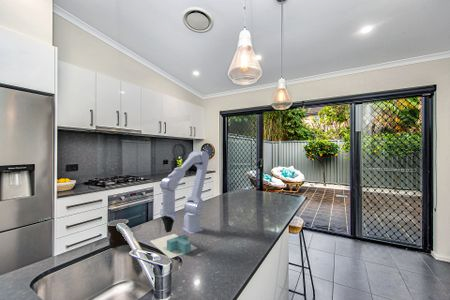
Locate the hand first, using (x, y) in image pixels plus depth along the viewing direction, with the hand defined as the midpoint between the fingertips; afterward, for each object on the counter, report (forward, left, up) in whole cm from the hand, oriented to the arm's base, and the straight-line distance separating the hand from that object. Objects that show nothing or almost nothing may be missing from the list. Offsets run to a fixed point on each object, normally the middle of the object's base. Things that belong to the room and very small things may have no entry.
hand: (168, 231), depth 92 cm
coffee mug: (-12, -19, -5) cm, 23 cm away
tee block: (+11, 0, -4) cm, 12 cm away
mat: (+5, 0, -5) cm, 7 cm away
